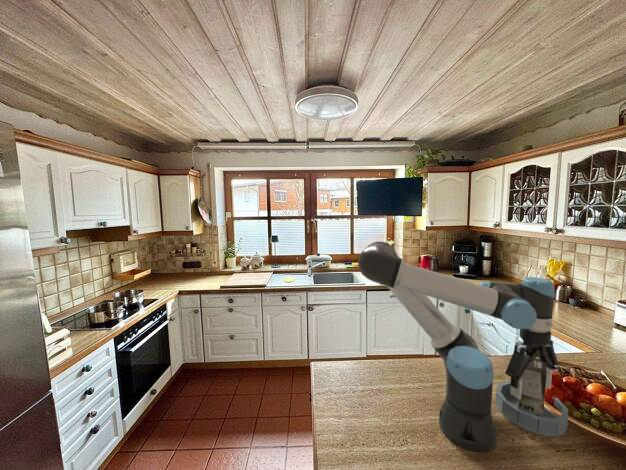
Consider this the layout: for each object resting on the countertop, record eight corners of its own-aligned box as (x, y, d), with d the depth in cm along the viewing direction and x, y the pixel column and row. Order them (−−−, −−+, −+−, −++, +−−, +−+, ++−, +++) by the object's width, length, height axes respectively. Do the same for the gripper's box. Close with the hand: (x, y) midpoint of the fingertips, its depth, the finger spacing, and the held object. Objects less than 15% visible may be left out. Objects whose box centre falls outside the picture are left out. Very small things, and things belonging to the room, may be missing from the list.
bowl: (541, 444, 74) (542, 428, 74) (483, 401, 91) (484, 387, 90) (580, 427, 80) (581, 411, 79) (519, 389, 96) (520, 376, 96)
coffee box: (543, 424, 80) (547, 374, 78) (516, 414, 84) (519, 366, 82) (542, 406, 87) (546, 360, 85) (517, 398, 91) (520, 353, 89)
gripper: (519, 340, 75) (514, 409, 77) (576, 326, 82) (570, 389, 85) (494, 329, 82) (490, 392, 84) (548, 317, 89) (543, 375, 92)
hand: (530, 391), depth 84 cm, fingers open, 13 cm apart
